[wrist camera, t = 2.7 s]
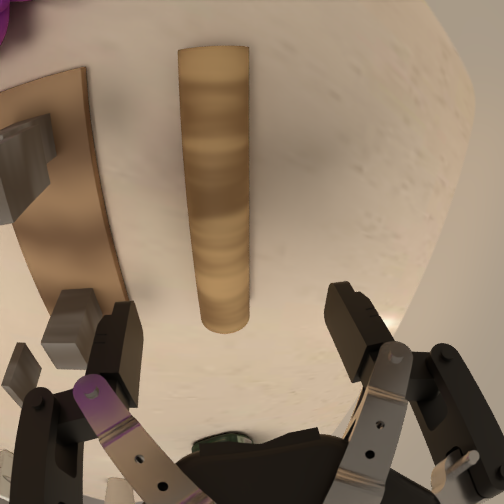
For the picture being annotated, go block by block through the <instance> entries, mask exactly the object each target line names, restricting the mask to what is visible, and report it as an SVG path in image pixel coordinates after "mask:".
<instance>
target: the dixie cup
mask: <svg viewBox="0 0 504 504" xmlns="http://www.w3.org/2000/svg"><path fill="white" fill-rule="evenodd" d="M104 504H135V501H134V495H133V488H132V486H131V485H130V484H129V483H128V481H127V480H125V479H120V478H109V479H108V483H107V489H106V496H105V502H104Z"/></svg>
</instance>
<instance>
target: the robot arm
mask: <svg viewBox="0 0 504 504" xmlns="http://www.w3.org/2000/svg"><path fill="white" fill-rule="evenodd" d="M324 319H325V323H326V325H327V328H328V330H329V332H330V334H331V337H332V339H333V341H334V343H335V346H336V348H337V350H338V352H339V355H340V357H341V359H342V362H343V364H344V366H345V369H346V371H347V373H348V375H349V378H350V380H351V382H352V383H355V382H359V381H361V382H362V385H363V387H362V389H361V392H360V395H359V398H358V400H357V403H356V406H355V409H354V411H353V414H352V416H351V419H350V422H349V424H348V426H347V428H346V430H345V433H344V435H343V437H342V438H339V437H336V436H332V435H326V434H319V431H318V428H317V427H316V428H311V429H306V430H301V431H296V432H290V433H287V434H285V435H283V436H280V437H278V438H275V439H273V440H271V441H268V442H265V443H263V444H251V443H241V442H232V441H224V442H213V443H199V451H196V452H193V453H191V454H189V455H187V456H185V457H183V458H182V459H180V460H179V461H178V462H176V463H174V462H173V461H172V460H171V459H170V458H169V457H168V456H167V455H166V453H165V452H164V451H163V450H162V449H161V448H160V447H159V446H158V444H157V443H156V442H155V441H154V440H153V439H152V438H151V436H150V435H149V434H148V433H147V432H146V430H145V429H144V428H143V427H142V426H141V424H140V423H139V422H138V421H137V420H136V419H135V418H134V417H133V416H132V415H131V414H130V412H129V408H138V395H139V382H140V370H141V360H142V350H143V329H142V325H141V322H140V319H139V316H138V313H137V309H136V306H135V303H134V301H119V302H115V304H114V307H113V311H112V315H104V316H103V318H102V319H101V320H100V322H99V323H98V324H97V328H96V332H95V336H94V340H93V344H92V348H91V352H90V356H89V360H88V365H87V369H86V374H85V376H83V377H81V378H80V379H79V380H78V381H77V382H76V383H75V385H74V388H73V389H70V390H67V391H64V392H60V393H56V394H52V393H51V391H50V390H48V389H47V388H44V387H37V388H34V389H32V390H31V391H29V392H28V393H27V395H26V396H25V398H24V401H23V405H22V410H21V414H20V420H19V425H18V430H17V436H16V442H15V449H14V456H13V464H12V473H11V483H10V497H9V504H83V499H82V498H83V449H84V441H88V440H92V439H96V438H99V442H100V444H101V445H102V447H103V449H104V450H105V451H106V453H107V454H108V456H109V457H110V459H111V460H112V461H113V463H114V464H115V466H116V467H117V468H118V470H119V471H120V472H121V474H122V475H123V476H124V478H125V479H126V480H127V481H128V483H129V484H130V485H131V486H132V488H133V489H134V490H135V491H136V493H137V494H138V495H139V496H140V497H141V499H142V500H143V501H144V502H143V503H142V504H481V503H483V502H485V501H487V500H489V499H491V498H493V497H494V496H496V495H498V494H500V493H501V492H503V491H504V436H503V433H502V431H501V429H500V427H499V425H498V423H497V421H496V419H495V417H494V415H493V413H492V411H491V409H490V407H489V405H488V404H487V402H486V400H485V398H484V396H483V394H482V392H481V391H480V389H479V387H478V385H477V383H476V381H475V380H474V378H473V376H472V375H471V373H470V371H469V369H468V368H467V366H466V364H465V362H464V361H463V359H462V357H461V356H460V354H459V353H458V351H457V350H456V349H455V348H454V347H452V346H451V345H449V344H444V343H440V344H437V345H435V346H434V347H433V348H432V350H431V351H430V352H412V351H411V350H410V348H408V346H406V345H405V344H403V343H401V342H398V341H395V340H394V338H393V337H392V335H391V333H390V332H389V330H388V328H387V327H386V325H385V323H384V322H383V320H382V319H381V317H380V316H379V314H378V312H377V311H376V309H374V306H373V304H372V303H371V301H370V299H369V298H368V297H366V296H365V295H364V294H362V293H361V292H355V291H354V290H353V288H352V286H351V285H350V283H349V282H348V281H344V282H336V283H330V285H329V288H328V293H327V298H326V304H325V309H324ZM408 401H409V402H410V404H411V407H412V409H413V411H414V414H415V416H416V418H417V421H418V423H419V426H420V428H421V431H422V433H423V436H424V438H425V440H426V443H427V446H428V448H429V451H430V453H431V456H432V459H433V461H434V464H435V467H434V469H433V471H432V474H431V487H432V491H430V490H428V489H426V488H424V487H423V486H421V485H419V484H417V483H416V482H414V481H412V480H410V479H409V478H407V477H405V476H403V475H401V474H400V473H398V472H396V471H395V470H393V469H391V468H390V466H391V464H392V460H393V457H394V454H395V450H396V447H397V444H398V440H399V436H400V433H401V429H402V425H403V422H404V418H405V414H406V410H407V405H408Z"/></svg>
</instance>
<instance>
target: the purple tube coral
mask: <svg viewBox="0 0 504 504" xmlns="http://www.w3.org/2000/svg"><path fill="white" fill-rule="evenodd" d="M13 1H30V0H0V45H1V43H2V42H3V39H4V37H5V35H6V32H7V27H8V22H9V13H10V4H9V3H10V2H13Z"/></svg>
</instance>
